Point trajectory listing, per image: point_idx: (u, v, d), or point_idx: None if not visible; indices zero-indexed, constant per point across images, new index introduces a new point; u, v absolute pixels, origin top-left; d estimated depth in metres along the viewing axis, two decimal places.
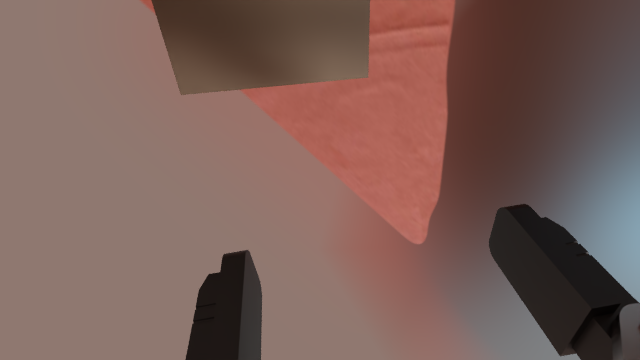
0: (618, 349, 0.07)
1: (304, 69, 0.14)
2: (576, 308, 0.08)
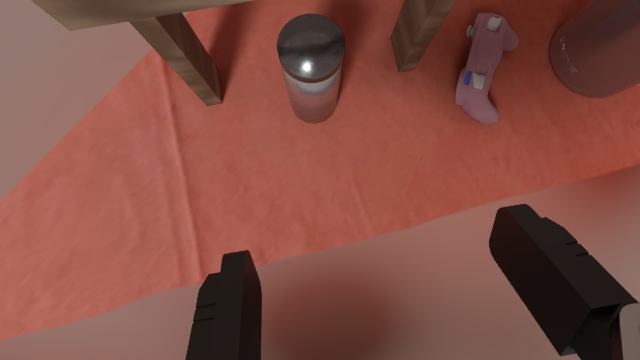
0: (618, 349, 0.07)
1: None
2: (576, 308, 0.08)
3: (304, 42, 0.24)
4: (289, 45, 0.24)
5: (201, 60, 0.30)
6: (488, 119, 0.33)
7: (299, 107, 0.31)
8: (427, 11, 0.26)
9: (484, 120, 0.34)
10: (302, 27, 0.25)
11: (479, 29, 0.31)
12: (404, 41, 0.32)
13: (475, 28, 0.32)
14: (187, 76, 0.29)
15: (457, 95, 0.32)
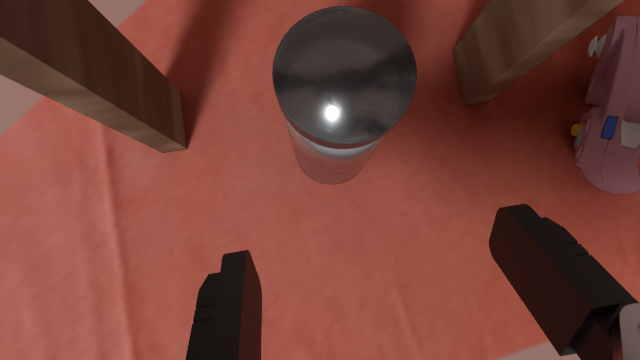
0: (618, 349, 0.07)
1: None
2: (576, 308, 0.08)
3: (330, 66, 0.12)
4: (298, 72, 0.11)
5: (140, 87, 0.17)
6: (624, 190, 0.20)
7: (310, 168, 0.18)
8: (571, 7, 0.13)
9: (616, 190, 0.21)
10: (326, 34, 0.12)
11: (628, 44, 0.18)
12: (485, 59, 0.20)
13: (614, 41, 0.19)
14: (108, 118, 0.16)
15: (585, 155, 0.19)
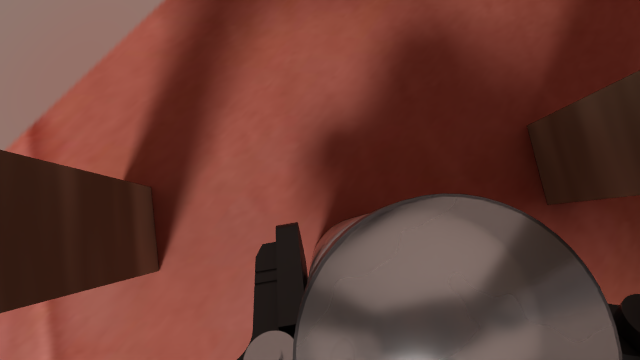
0: None
1: None
2: None
3: (425, 343, 0.05)
4: None
5: (70, 231, 0.11)
6: None
7: None
8: None
9: None
10: (412, 263, 0.05)
11: None
12: (599, 160, 0.13)
13: None
14: None
15: None
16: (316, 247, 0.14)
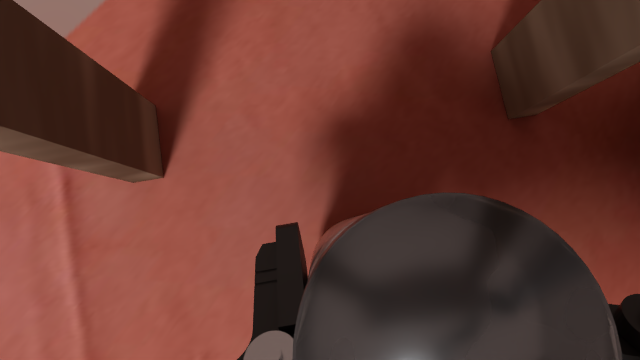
0: None
1: None
2: None
3: (424, 342, 0.05)
4: None
5: (91, 107, 0.13)
6: None
7: None
8: None
9: None
10: (412, 262, 0.05)
11: None
12: (544, 62, 0.15)
13: None
14: (40, 153, 0.11)
15: None
16: None
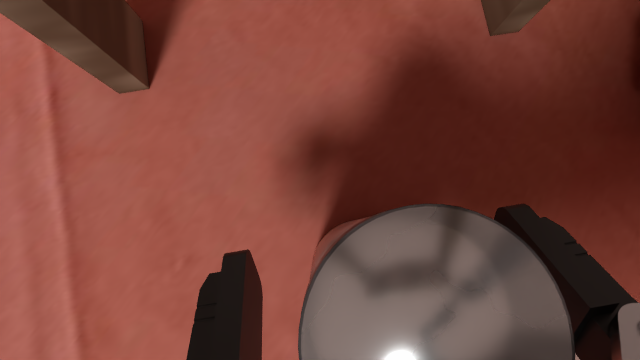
0: (616, 348, 0.07)
1: None
2: (575, 308, 0.08)
3: (409, 329, 0.06)
4: (348, 345, 0.06)
5: None
6: None
7: None
8: None
9: None
10: (399, 262, 0.06)
11: None
12: None
13: None
14: (20, 12, 0.11)
15: None
16: (317, 248, 0.15)
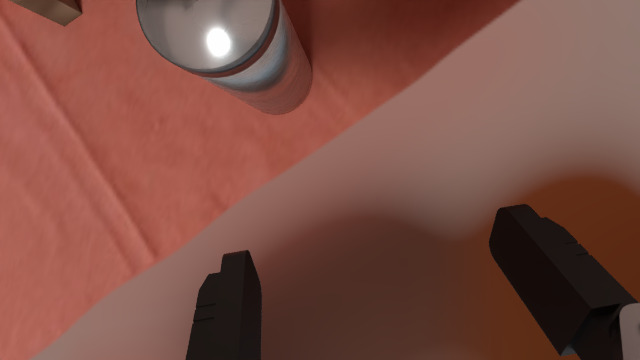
0: (618, 349, 0.07)
1: None
2: (576, 308, 0.08)
3: None
4: (163, 17, 0.12)
5: None
6: None
7: (253, 104, 0.19)
8: None
9: None
10: None
11: None
12: None
13: None
14: None
15: None
16: None
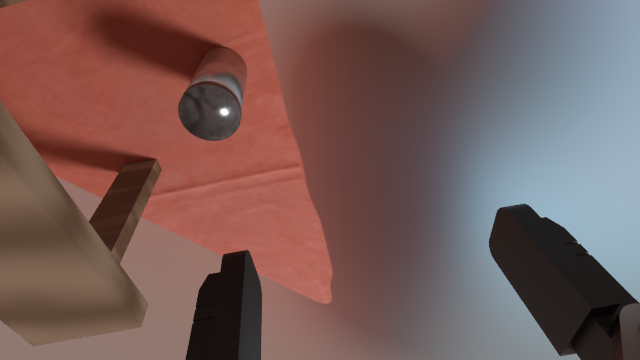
0: (618, 349, 0.07)
1: (100, 329, 0.25)
2: (576, 308, 0.08)
3: (208, 119, 0.28)
4: (213, 131, 0.29)
5: (126, 189, 0.37)
6: None
7: None
8: (0, 7, 0.23)
9: None
10: (193, 121, 0.28)
11: None
12: None
13: None
14: (144, 200, 0.37)
15: None
16: None
